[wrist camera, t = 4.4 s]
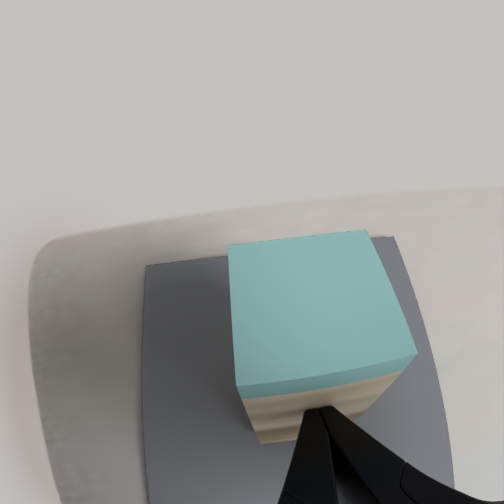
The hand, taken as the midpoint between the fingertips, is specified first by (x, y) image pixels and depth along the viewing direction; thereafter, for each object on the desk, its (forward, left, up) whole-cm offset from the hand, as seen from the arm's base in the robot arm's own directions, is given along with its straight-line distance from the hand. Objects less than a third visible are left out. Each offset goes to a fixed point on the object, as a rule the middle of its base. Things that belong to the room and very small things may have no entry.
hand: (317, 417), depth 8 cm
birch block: (+1, 0, -6) cm, 6 cm away
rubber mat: (+1, 0, -7) cm, 7 cm away
